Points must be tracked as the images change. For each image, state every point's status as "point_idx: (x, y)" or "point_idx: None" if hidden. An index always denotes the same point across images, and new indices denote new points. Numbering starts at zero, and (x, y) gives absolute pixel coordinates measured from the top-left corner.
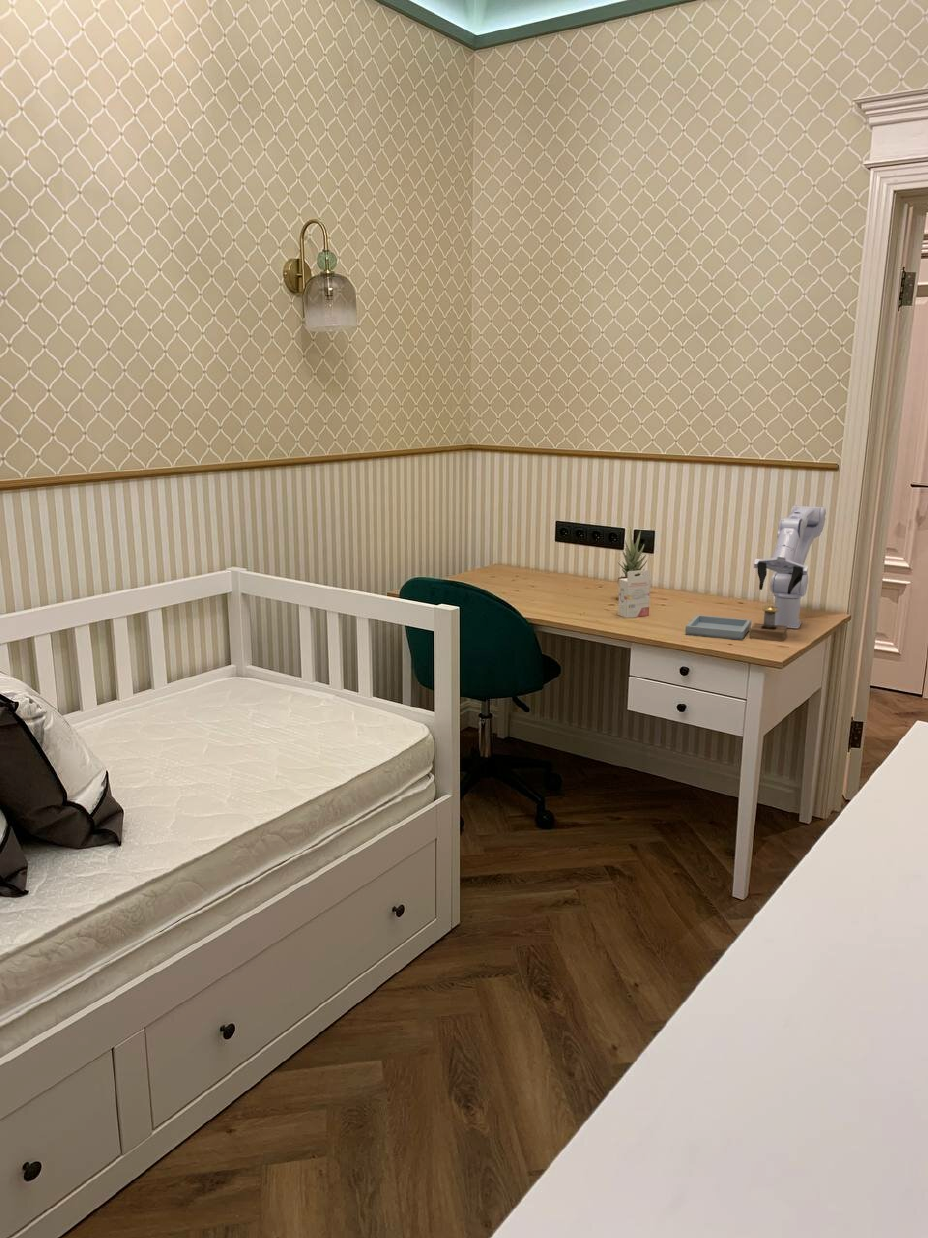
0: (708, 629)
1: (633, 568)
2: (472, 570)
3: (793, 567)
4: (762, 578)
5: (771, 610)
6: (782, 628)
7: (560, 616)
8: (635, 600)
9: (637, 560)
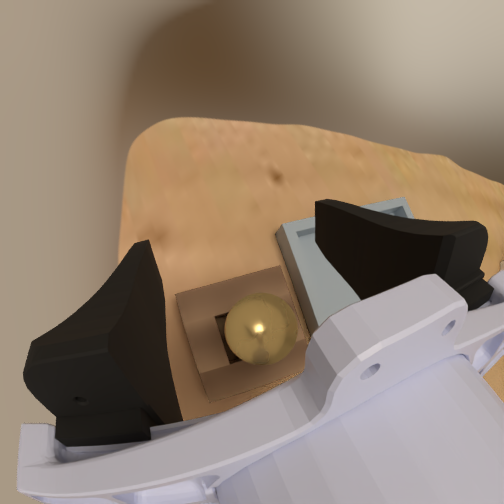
0: (362, 206)
1: None
2: None
3: (109, 330)
4: (348, 209)
5: (241, 299)
6: (203, 353)
7: None
8: None
9: None
